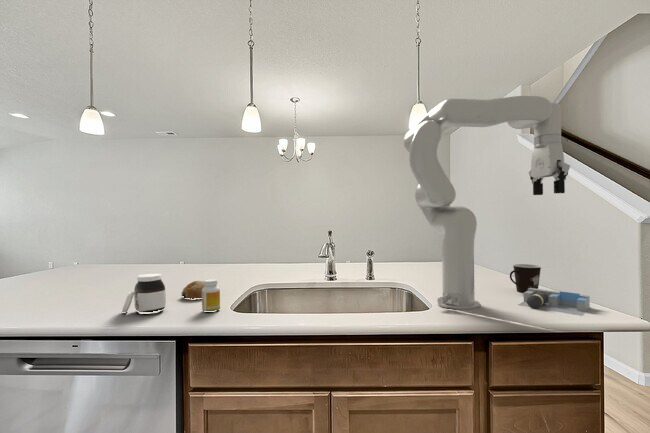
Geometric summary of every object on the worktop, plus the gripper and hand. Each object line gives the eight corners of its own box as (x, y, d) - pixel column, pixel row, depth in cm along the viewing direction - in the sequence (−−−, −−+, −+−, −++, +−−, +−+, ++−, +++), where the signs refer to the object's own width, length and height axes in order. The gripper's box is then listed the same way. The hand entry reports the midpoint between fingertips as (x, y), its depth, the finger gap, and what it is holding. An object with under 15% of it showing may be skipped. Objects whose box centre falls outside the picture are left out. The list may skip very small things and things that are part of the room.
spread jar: (169, 312, 108) (168, 275, 108) (130, 320, 99) (129, 280, 99) (154, 305, 116) (153, 271, 116) (116, 313, 108) (115, 276, 107)
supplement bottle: (223, 309, 110) (223, 279, 109) (211, 314, 105) (211, 282, 105) (210, 307, 112) (210, 278, 112) (198, 312, 107) (197, 281, 107)
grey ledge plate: (582, 317, 95) (581, 300, 95) (517, 306, 107) (517, 291, 107) (591, 309, 103) (590, 293, 103) (530, 299, 115) (530, 285, 115)
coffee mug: (533, 290, 128) (533, 264, 128) (546, 296, 120) (545, 267, 119) (501, 290, 129) (500, 264, 129) (511, 296, 121) (510, 267, 121)
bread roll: (200, 311, 121) (210, 290, 121) (174, 299, 121) (183, 278, 121) (210, 303, 131) (219, 284, 131) (186, 292, 131) (194, 273, 131)
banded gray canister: (540, 309, 102) (540, 297, 102) (526, 307, 104) (526, 295, 104) (548, 304, 107) (548, 292, 107) (535, 302, 110) (535, 290, 110)
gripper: (519, 147, 122) (520, 195, 122) (556, 136, 104) (556, 192, 105) (540, 147, 122) (540, 195, 122) (579, 136, 105) (580, 192, 105)
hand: (548, 194), depth 114 cm, fingers open, 9 cm apart
